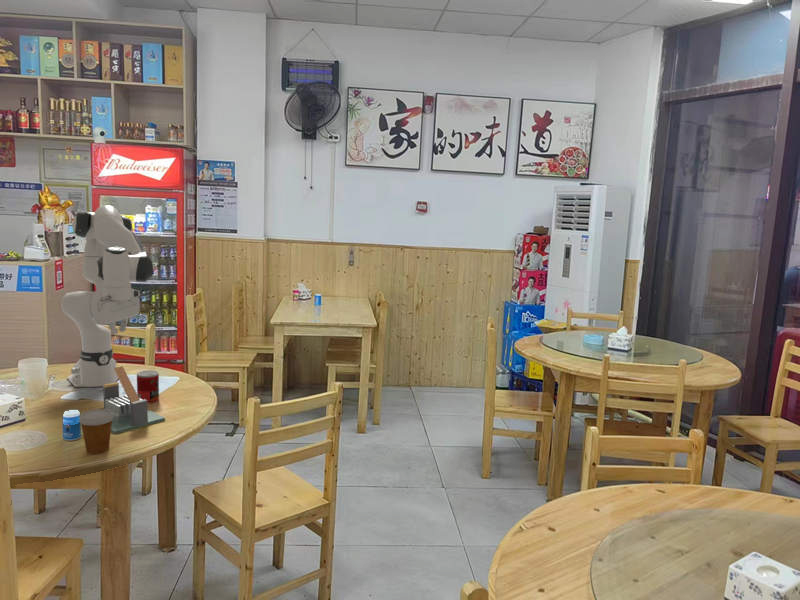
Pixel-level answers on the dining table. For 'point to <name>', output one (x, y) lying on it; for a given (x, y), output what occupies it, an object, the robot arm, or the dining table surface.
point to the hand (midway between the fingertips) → (118, 332)
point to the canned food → (148, 386)
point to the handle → (126, 384)
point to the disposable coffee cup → (96, 430)
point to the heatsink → (119, 408)
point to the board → (128, 423)
